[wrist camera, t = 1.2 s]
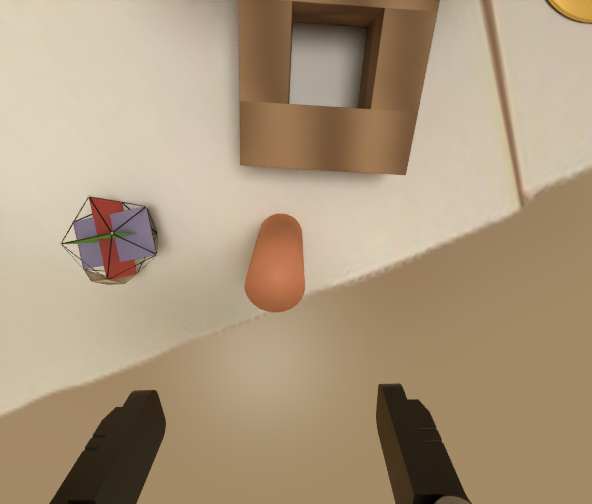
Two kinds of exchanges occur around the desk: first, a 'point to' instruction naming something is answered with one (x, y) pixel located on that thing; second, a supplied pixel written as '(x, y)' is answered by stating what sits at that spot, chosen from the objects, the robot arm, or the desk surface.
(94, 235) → the geometric puzzle
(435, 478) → the robot arm
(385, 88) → the socket block
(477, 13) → the desk surface
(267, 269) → the peg
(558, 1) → the cup
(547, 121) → the desk surface
